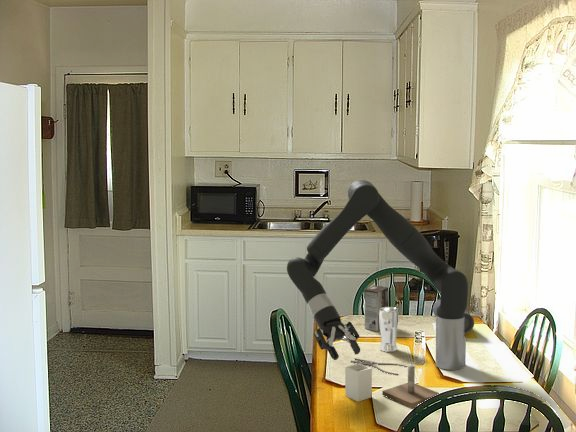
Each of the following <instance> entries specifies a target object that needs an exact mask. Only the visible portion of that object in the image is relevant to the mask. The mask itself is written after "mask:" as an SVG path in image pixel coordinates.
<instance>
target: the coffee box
mask: <svg viewBox="0 0 576 432" xmlns="http://www.w3.org/2000/svg"><path fill="white" fill-rule="evenodd" d="M389 302H390V301H389V287H388V286H382V285H376V284H375V285H373V286H370V287H368V288H366V289H364V329H365V330H369V331H370V330H371V331H376V332H380V328H379V311H380V308H382V307H390V306H389V305H390V304H389Z"/></svg>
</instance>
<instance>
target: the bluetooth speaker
mask: <svg viewBox="0 0 576 432" xmlns="http://www.w3.org/2000/svg"><path fill="white" fill-rule="evenodd" d="M440 300H441V298H440V299H437V300H436V301H435V302H434V303H433V306H432V312H433V314H434V316H435V317H436V308H437V307H438V306H439V305H440ZM474 326H475V321H474V317H473V316H472V315H471V313H469V312H468V311H467V310H465V315H464V335H466V334H468V333H470V332H471V331H473V329H474Z"/></svg>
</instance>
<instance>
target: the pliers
mask: <svg viewBox="0 0 576 432" xmlns="http://www.w3.org/2000/svg"><path fill="white" fill-rule="evenodd" d="M354 359H355V360H350V363H352V362H354V363H353V364H355V363H357V364H358V363H360V364H362V365H365V366H366V365H369V366H368V367H370V366H372V367H371V368H373V367H374V368H373V369H375V368H377V369H378V370H377V369H376V370H377V371H379V370H380V372H381V371H382V373H384V372H385V373H384V374H387V373H388V375H392V374H393V376H399V373H395V372H390V371H388V370H387V371H386V370H383V369H382V368H380V367H378V366H397V365H399V367H403V366H404V368H407V367H408V366H409V365H404V364H399V363H388V362H387V363H386V362H375V361H371V360H368V359H367V360H366V359H360V358H356V357H354ZM356 360H360V361H361V362H360V361H356ZM362 361H364V362H362ZM373 364H378V365H373Z"/></svg>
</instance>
